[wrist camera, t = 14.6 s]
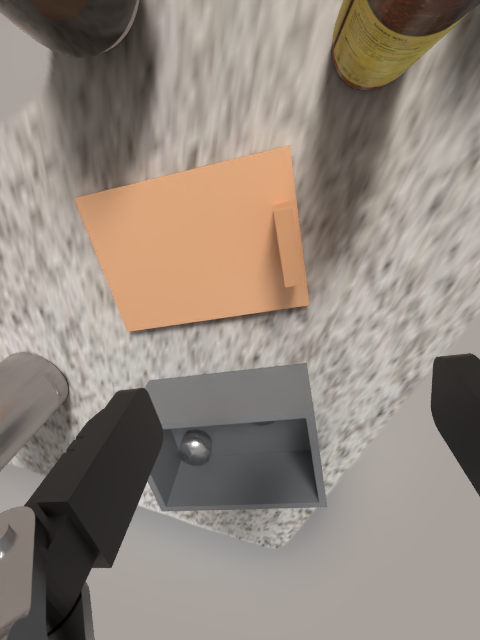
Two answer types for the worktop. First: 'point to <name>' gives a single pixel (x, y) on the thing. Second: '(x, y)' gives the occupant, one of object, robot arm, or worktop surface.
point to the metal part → (195, 447)
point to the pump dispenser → (73, 23)
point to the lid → (201, 242)
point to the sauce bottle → (389, 36)
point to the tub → (239, 441)
